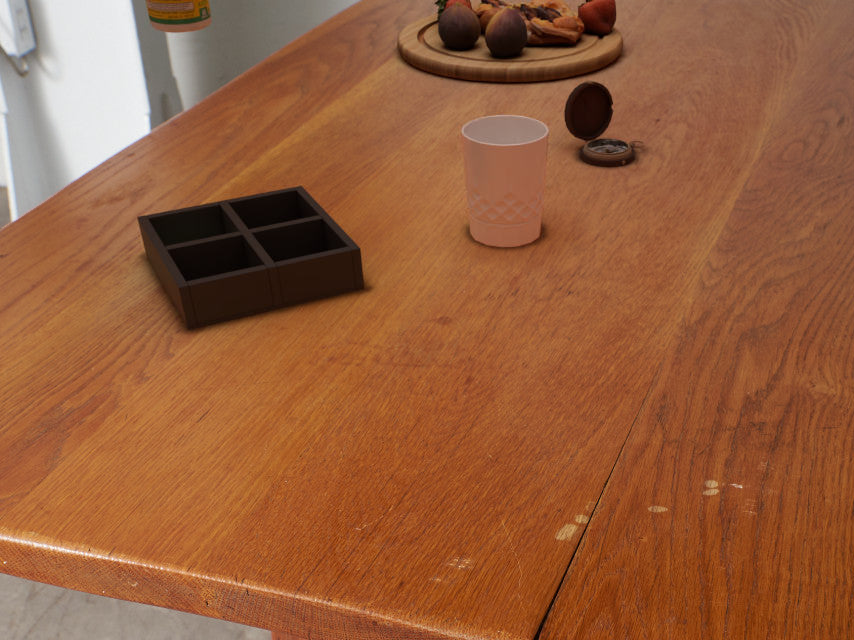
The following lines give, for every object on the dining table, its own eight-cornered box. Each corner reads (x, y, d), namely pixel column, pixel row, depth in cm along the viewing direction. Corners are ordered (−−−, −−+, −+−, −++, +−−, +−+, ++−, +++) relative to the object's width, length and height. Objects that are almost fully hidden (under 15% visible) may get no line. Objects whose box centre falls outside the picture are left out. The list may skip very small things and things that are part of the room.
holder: (188, 333, 82) (178, 287, 80) (147, 259, 93) (136, 216, 90) (365, 291, 88) (360, 247, 85) (307, 226, 98) (301, 185, 96)
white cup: (517, 211, 101) (518, 109, 95) (562, 239, 96) (566, 133, 90) (449, 229, 98) (445, 124, 92) (492, 259, 93) (490, 151, 86)
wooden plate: (628, 26, 155) (633, -34, 149) (614, 91, 130) (619, 23, 125) (424, 18, 158) (421, -41, 153) (373, 80, 134) (368, 12, 129)
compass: (600, 173, 109) (604, 104, 104) (560, 150, 114) (562, 83, 109) (659, 159, 112) (666, 91, 107) (618, 138, 117) (622, 72, 113)
